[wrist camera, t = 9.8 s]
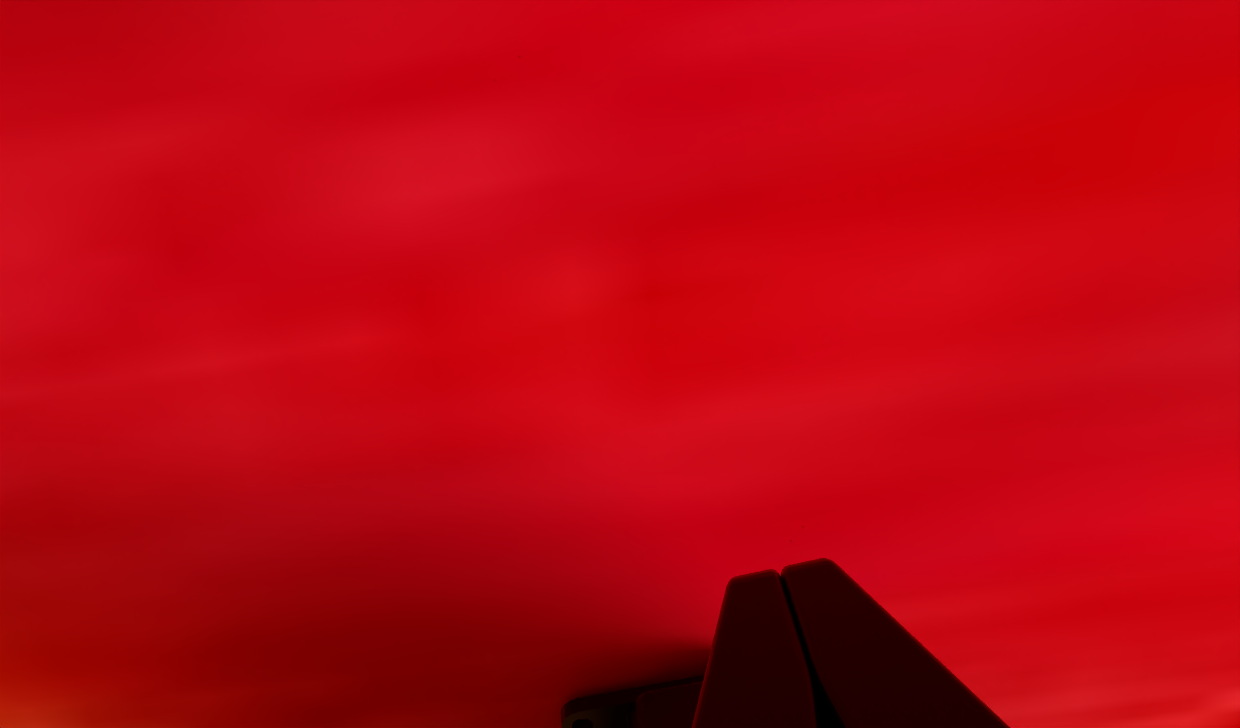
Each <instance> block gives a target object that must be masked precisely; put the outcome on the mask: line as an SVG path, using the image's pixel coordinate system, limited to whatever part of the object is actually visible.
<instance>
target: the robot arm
mask: <svg viewBox="0 0 1240 728" xmlns="http://www.w3.org/2000/svg"><path fill="white" fill-rule="evenodd" d="M561 724H562V728H1010V727H1009V726H1008V725H1007V724H1006V723H1005V722H1004V721H1003V720H1002V719H1001V718H999V717H998V716H997V715H996V714H995V713H994V712H993V711H992V710H991V709H990V708H989V707H988V706H987V705H986V704H985V703H984V702H982V701H981V700H980V699H979V698H978V697H977V696H976V695H975V694H974V693H973V692H972V691H971V690H970V689H969V688H968V687H967V686H965V685H964V684H963V683H962V682H961V681H960V680H959V679H958V678H957V677H956V676H955V675H954V674H953V673H952V672H951V671H950V670H948V669H947V668H946V667H945V666H944V665H943V664H942V663H941V662H940V661H939V660H938V659H937V658H936V657H935V656H934V655H933V654H931V653H930V652H929V651H928V650H927V649H926V648H925V647H924V646H923V645H922V644H921V643H920V642H919V641H918V640H917V639H916V638H914V637H913V636H912V635H911V634H910V633H909V632H908V631H907V630H906V629H905V628H904V627H903V626H902V625H901V624H900V623H899V622H898V621H896V620H895V619H894V618H893V617H892V616H891V615H890V614H889V613H888V612H887V611H886V610H885V609H884V608H883V607H882V606H881V605H879V604H878V603H877V602H876V601H875V600H874V599H873V598H872V597H871V596H870V595H869V594H868V593H867V592H866V591H865V590H864V589H862V588H861V587H860V586H859V585H858V584H857V583H856V582H855V581H854V580H853V579H852V578H851V577H850V576H849V575H848V574H847V573H845V572H844V571H843V570H842V569H841V568H840V567H839V566H838V565H837V564H836V563H834V562H833V561H832V560H830V559H827V558H820V559H816V560H811V561H806V562H802V563H797V564H792V565H788V566H785V567H784V568H783V569H782V572H781V577H780V575H779V573H778V572H777V571H775V570H773V569H769V570H764V571H759V572H755V573H750V574H745V575H741V576H736V577H733V578H732V579H731V580H730V581H729V582H728V584H727V587H726V590H725V594H724V598H723V602H722V607H721V611H720V615H719V619H718V623H717V627H716V631H715V635H714V639H713V643H712V647H711V651H710V655H709V659H708V664H707V668H706V672H705V675H704V676H699V677H693V678H688V679H682V680H677V681H671V682H666V683H660V684H655V685H649V686H643V687H638V688H632V689H627V690H621V691H616V692H610V693H605V694H599V695H594V696H588V697H582V698H577V699H574V700H571V701H569V702H568V703H566V704H565V705H564V706H563V708H562V710H561Z"/></svg>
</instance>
